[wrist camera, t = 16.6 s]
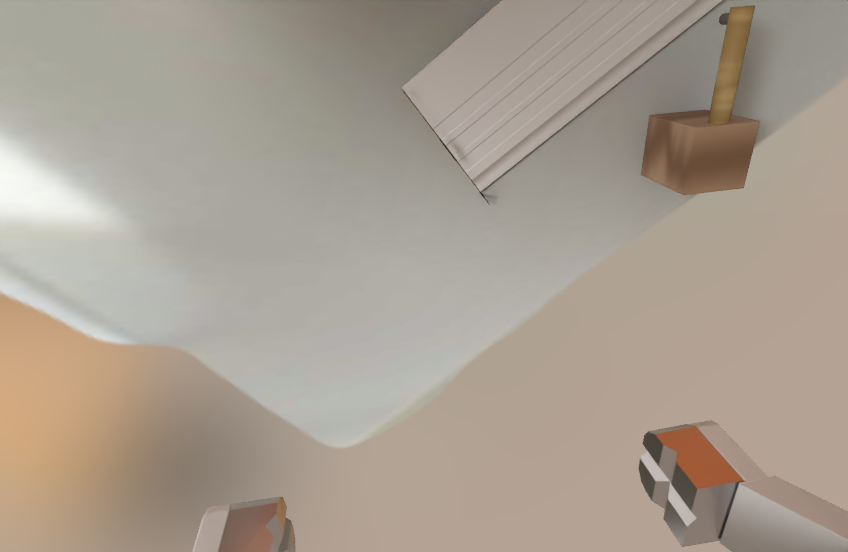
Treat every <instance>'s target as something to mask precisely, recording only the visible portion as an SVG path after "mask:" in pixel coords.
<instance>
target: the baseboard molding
mask: <svg viewBox="0 0 848 552" xmlns="http://www.w3.org/2000/svg"><path fill="white" fill-rule="evenodd" d="M721 1H722V0H501V1H500V2H499V3H498V4H496V5H495V6H494V7H493V8H492V9H491V10H490V11H488V12H487V13H486V14H485V15H484V16H483V17H482V18H480V19H479V20H478V21H477V22H476V23H475V24H474V25H472V26H471V27H470V28H469V29H468V30H467V31H466V32H464V33H463V34H462V35H461V36H460V37H459V38H457V39H456V40H455V41H454V42H453V43H452V44H451V45H449V46H448V47H447V48H446V49H445V50H444V51H443V52H441V53H440V54H439V55H438V56H437V57H436V58H435V59H433V60H432V61H431V62H430V63H429V64H428V65H427V66H425V67H424V68H423V69H422V70H421V71H420V72H418V73H417V74H416V75H415V76H414V77H413V78H412V79H410V80H409V81H408V82H407V83H406V84H405V85H404V86H402V87H401V88H402V90H403V91H404V93H405V94H406V95H407V97H408V98H409V99H410V100H411V102H412V103H413V104H414V106H415V107H416V108H417V110H418V111H419V112H420V114H421V115H422V116H423V118H424V119H425V120H426V122H427V123H428V124H429V125H430V127H431V128H432V129H433V131H434V132H435V133H436V135H437V136H438V137H439V140H440V141H441V142H442V143H443V145H444V146H445V147H446V149H447V150H448V151H449V153H450V154H451V155H452V157H453V158H454V159H455V161H456V162H458V164H459V165H460V166H461V168H462V169H463V170H464V172H465V173H466V174H467V176H468V177H469V178H470V179H471V181H472V182H473V183H474V185H475V186H476V187H477V189H478V190H479V191H480V193H481V191H482V190H484V189H485V188H486V187H487V186H489V185H490V184H491V183H492V182H494V181H495V180H496V179H497V178H499V177H500V176H501V175H502V174H504V173H505V172H506V171H508V170H509V169H510V168H511V167H513V166H514V165H515V164H516V163H518V162H519V161H520V160H521V159H523V158H524V157H525V156H527V155H528V154H529V153H530V152H532V151H533V150H534V149H535V148H537V147H538V146H539V145H540V144H542V143H543V142H544V141H545V140H547V139H548V138H549V137H551V136H552V135H553V134H554V133H556V132H557V131H558V130H559V129H561V128H562V127H563V126H564V125H566V124H567V123H568V122H569V121H571V120H572V119H573V118H575V117H576V116H577V115H578V114H580V113H581V112H582V111H583V110H585V109H586V108H587V107H588V106H590V105H591V104H592V103H594V102H595V101H596V100H597V99H599V98H600V97H601V96H602V95H604V94H605V93H606V92H607V91H609V90H610V89H611V88H612V87H614V86H615V85H616V84H618V83H619V82H620V81H621V80H623V79H624V78H625V77H626V76H628V75H629V74H630V73H631V72H633V71H634V70H635V69H636V68H638V67H639V66H640V65H642V64H643V63H644V62H645V61H647V60H648V59H649V58H650V57H652V56H653V55H654V54H655V53H657V52H658V51H659V50H661V49H662V48H663V47H664V46H666V45H667V44H668V43H669V42H671V41H672V40H673V39H674V38H676V37H677V36H678V35H679V34H681V33H682V32H683V31H685V30H686V29H687V28H688V27H690V26H691V25H692V24H693V23H695V22H696V21H697V20H698V19H700V18H701V17H702V16H703V15H705V14H706V13H707V12H709V11H710V10H711V9H712V8H714V7H715V6H716V5H717V4H719V3H720V2H721ZM481 195H482V196H483V194H482V193H481ZM483 197H484V196H483ZM484 198H485V197H484ZM485 200H486V199H485ZM486 201H487V200H486ZM487 202H488V201H487ZM488 204H489V203H488Z"/></svg>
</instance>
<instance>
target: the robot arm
mask: <svg viewBox="0 0 848 552" xmlns="http://www.w3.org/2000/svg"><path fill="white" fill-rule="evenodd" d="M643 445H644V447H645V448H646V449H647V451H646V452H645V453H644V454H643V455H642V456H641V458H640V463H639V473H640V477H641V482H642V484H643V486H644V488H645V490H646V492H647V494H648V495H649V497H650V499H651V500H652V501H653V502H655V503H656V504H658V505H659V506H661V507H663V508H664V520H665V522H666V523H667V525H668V526H669V528H670V529H671V531H672V532H673V534H674V535H675V537H676V538H677V540H678V542H679V543H680V545H681V546H682V547H684V546H690V545H696V544H702V543H708V542H714V541H720V540H721V541H720V543H721V544H722V545H724V546H725V547H726V548H728V549H729V550H730V551H732V552H848V511H846V510H844V509H842V508H840V507H838V506H836V505H833V504H832V503H829V502H827V501H825V500H823V499H821V498H819V497H817V496H815V495H813V494H811V493H809V492H807V491H805V490H803V489H801V488H799V487H796V486H794V485H792V484H790V483H788V482H786V481H784V480H782V479H780V478H778V477H776V476H772V477H768V476H767V475H766V474H765V472H764V471H763V470H762V469H761V468H760V467H759V466H758V465H757V464H756V463H755V462H754V461H753V460H752V459H751V458H750V457H749V456H748V455H747V454H746V453H745V452H744V451H743V450H742V448H740V446H739V445H738V444H737V443H736V442H735V441H734V440H733V439H732V438H731V437H730V436H729V435H728V434H727V433H726V432H725V431H724V430H723V429H722V428H721V427H720V426H719V424H717V423H716V422H714V421H712V420H710V421H704V422H698V423H693V424H689V425H688V424H685V425H680V426H674V427H669V428H664V429H658V430H653V431H648V432H647V433H646V434H645V435H644V439H643ZM286 508H287V507H286V504H285V501H284V499H283V497H275V498H268V499H262V500H255V501H248V502H242V503H236V504H230V505H223V506H217V507H210V508H208V509H207V511H206V512H205V514H204V516H203V518H202V522H201V525H200V528H199V532H198V535H197V538H196V542H195V545H194V548H193V552H295V535H294V529H293V525H292V522H291V520H289V519H287V518H286Z"/></svg>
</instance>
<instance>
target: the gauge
mask: <svg viewBox="0 0 848 552" xmlns="http://www.w3.org/2000/svg"><path fill="white" fill-rule="evenodd" d="M754 9H755V6H743V7H731V8H730V13H724V14H722V15H721V16H720V18H719V23H720V24H722V25H727V28H726V33H725V38H724V43H723V48H722V53H721V58H720V63H719V68H718V73H717V78H716V83H715V88H714V93H713V99H712V104H711V109H710V111H709V110H698V111H688V112H678V113H667V114H657V115H650V116H649V123H648V130H647V136H646V143H645V150H644V157H643V164H642V171H641V175H643V176H645V177H647V178H649V179H651V180H653V181H655V182H657V183H659V184H661V185H663V186H666V187H668V188H670V189H672V190H674V191H676V192H678V193H680V194H682V195H688V194H696V193H705V192H714V191H722V190H731V189H739V188H744V184H745V180H746V176H747V172H748V168H749V164H750V159H751V156H752V152H753V148H754V144H755V139H756V135H757V131H758V127H759V123H760V121H756V120H751V119H747V118H742V117H737V116H733V115H731V114H732V109H733V105H734V100H735V96H736V91H737V86H738V82H739V77H740V73H741V68H742V64H743V59H744V54H745V50H746V45H747V41H748V36H749V31H750V27H751V22H752V18H753V13H754Z"/></svg>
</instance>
